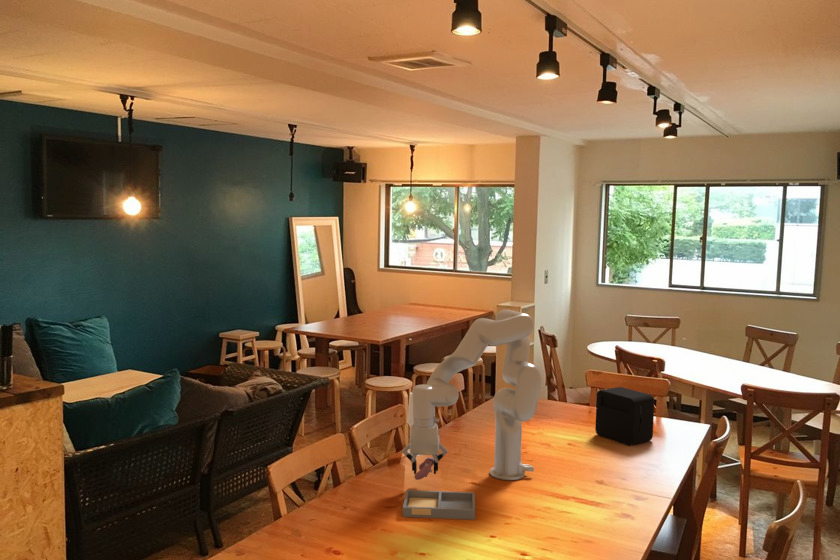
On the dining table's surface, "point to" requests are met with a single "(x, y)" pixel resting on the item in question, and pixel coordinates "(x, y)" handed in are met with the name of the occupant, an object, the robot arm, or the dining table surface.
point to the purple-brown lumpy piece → (424, 468)
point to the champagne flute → (410, 413)
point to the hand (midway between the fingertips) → (425, 472)
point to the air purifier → (624, 415)
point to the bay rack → (439, 504)
